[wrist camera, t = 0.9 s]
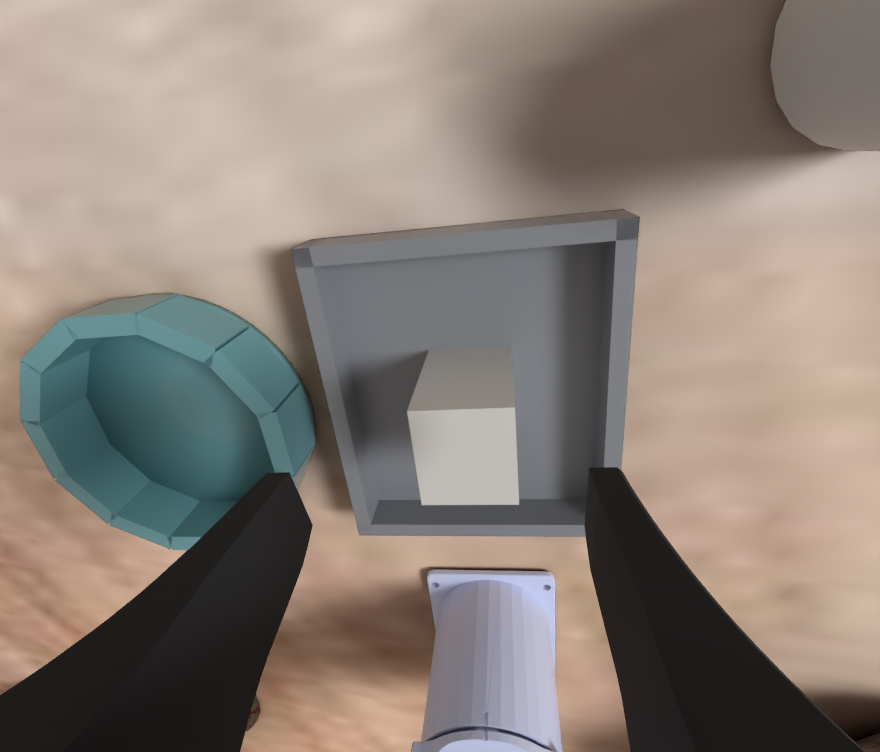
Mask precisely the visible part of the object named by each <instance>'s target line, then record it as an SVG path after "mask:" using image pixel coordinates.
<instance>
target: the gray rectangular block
mask: <svg viewBox="0 0 880 752" xmlns="http://www.w3.org/2000/svg"><path fill="white" fill-rule="evenodd" d="M407 415H408V421H409V428H410V434H411V440H412V446H413V453H414V459H415V465H416V472H417V478H418V484H419V491H420V497H421V503H422V505H519V488H518V465H517V442H516V419H515V399H514V382H513V365H512V348H511V345H508V346H490V347H472V348H454V349H436V350H429V351H428V354H427V357H426V360H425V362H424V365H423V368H422V371H421V373H420V376H419V379H418V382H417V385H416V387H415V390H414V393H413V396H412V399H411V401H410V404H409V407H408V410H407Z"/></svg>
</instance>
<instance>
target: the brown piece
mask: <svg viewBox="0 0 880 752" xmlns="http://www.w3.org/2000/svg"><path fill="white" fill-rule="evenodd" d="M856 743H857V744H858V745H859V746H860V747H861V748H862V749H863V750H864V751H866V752H880V733H878V734H876V735H873V736H870V737H867V738H864V739H861V740H859V741H856Z"/></svg>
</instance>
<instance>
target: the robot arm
mask: <svg viewBox="0 0 880 752" xmlns="http://www.w3.org/2000/svg"><path fill="white" fill-rule="evenodd" d="M584 526H585V534H586V541H587V548H588V555H589V562H590V569H591V573H592V577H593V581H594V586H595V590H596V594H597V598H598V602H599V606H600V610H601V614H602V617H603V621H604V625H605V629H606V633H607V637H608V641H609V645H610V649H611V653H612V657H613V661H614V665H615V669H616V673H617V677H618V682H619V687H620V691H621V696H622V701H623V707H624V713H625V719H626V726H627V732H628V738H629V744H630V750H631V752H866V751H864V750H863V749H862V748H861V747H860V746H859V745H858V744H857V743H856V742H854V741H853V740H852V739H851V738H850V737H849V736H848V735H847V734H846V733H845V732H844V731H843V730H842V729H841V728H840V727H839V726H838V725H837V724H835V723H834V722H833V721H832V720H831V719H830V718H829V717H828V716H827V715H826V714H825V713H824V712H823V711H822V710H821V709H820V708H819V707H818V706H817V705H816V704H814V703H813V702H812V701H811V700H810V699H809V698H808V697H807V696H806V695H805V694H804V693H803V692H802V691H801V690H800V689H799V688H798V687H797V686H796V685H794V684H793V683H792V682H791V681H790V680H789V679H788V678H787V677H786V676H785V675H784V674H783V673H782V672H781V670H780V669H779V668H778V667H777V666H776V665H775V664H774V663H773V662H772V661H771V660H770V659H769V658H768V657H767V656H766V655H765V654H764V653H763V652H762V651H761V650H760V649H759V648H758V647H757V646H756V645H755V644H754V642H753V641H752V640H751V639H750V638H749V637H748V636H747V635H746V634H745V633H744V632H743V631H742V630H741V628H740V627H739V626H738V625H737V624H736V623H735V622H734V621H733V620H732V619H731V617H730V616H729V615H728V614H727V613H726V612H725V611H724V609H723V608H722V607H721V606H720V605H719V604H718V603H717V601H716V600H715V599H714V598H713V597H712V595H711V594H710V593H709V592H708V591H707V589H706V588H705V587H704V586H703V585H702V583H701V582H700V581H699V580H698V579H697V577H696V576H695V575H694V574H693V572H692V571H691V570H690V569H689V567H688V566H687V565H686V564H685V562H684V561H683V560H682V558H681V557H680V556H679V554H678V553H677V552H676V550H675V549H674V548H673V546H672V545H671V544H670V542H669V541H668V540H667V538H666V537H665V536H664V534H663V533H662V532H661V530H660V529H659V528H658V526H657V525H656V523H655V522H654V520H653V519H652V518H651V516H650V515H649V513H648V512H647V510H646V509H645V507H644V506H643V504H642V503H641V501H640V500H639V498H638V497H637V495H636V494H635V492H634V490H633V489H632V487H631V485H630V484H629V482H628V481H627V479H626V477H625V475H624V474H623V472H622V471H621V470H620V469H619V468H618V467H600V468H589V475H588V488H587V500H586V513H585V525H584ZM311 530H312V523H311V521H310V518H309V516H308V514H307V511H306V509H305V507H304V505H303V502H302V500H301V498H300V495H299V493H298V491H297V488H296V486H295V484H294V482H293V479H292V477H291V475H290V472H283V473H266V474H265V475H264V476H263V477H262V478H261V479H260V480H259V481H258V482H257V483H256V484H255V485H254V486H253V487H252V488H251V489H250V490H249V491H248V492H247V493H246V494H245V495H244V496H243V497H242V498H241V499H240V500H239V501H238V502H237V503H236V504H235V505H234V506H233V507H232V508H231V509H230V510H229V511H228V512H227V513H226V514H225V515H224V516H223V517H222V518H221V519H220V520H219V521H218V522H217V523H216V524H214V525H213V526H212V527H211V528H210V529H209V530H208V531H207V532H206V533H205V534H204V535H203V536H202V537H201V538H200V539H199V540H198V541H197V542H196V543H195V544H194V545H193V546H192V547H191V548H190V549H189V550H187V551H186V552H185V553H184V554H183V555H182V556H181V557H180V558H179V559H178V560H177V561H175V562H174V563H173V564H172V565H171V566H170V567H169V568H168V569H167V570H166V571H165V572H163V573H162V574H161V575H160V576H159V577H158V578H157V579H156V580H155V581H154V582H152V583H151V584H150V585H149V586H148V587H147V588H145V589H144V590H143V591H142V592H141V593H139V594H138V595H137V596H136V597H135V598H134V599H132V600H131V601H130V602H129V603H127V604H126V605H125V606H124V607H122V608H121V609H120V610H119V611H117V612H116V613H115V614H114V615H112V616H111V617H110V618H109V619H107V620H106V621H105V622H104V623H102V624H101V625H100V626H98V627H97V628H96V629H94V630H93V631H92V632H90V633H89V634H88V635H86V636H85V637H83V638H82V639H81V640H79V641H78V642H77V643H75V644H74V645H72V646H71V647H70V648H68V649H67V650H66V651H64V652H63V653H61V654H60V655H59V656H57V657H56V658H55V659H53V660H52V661H51V662H49V663H48V664H46V665H45V666H43V667H42V668H41V669H39V670H38V671H36V672H35V673H33V674H32V675H30V676H29V677H27V678H26V679H24V680H23V681H21V682H20V683H18V684H17V685H15V686H14V687H12V688H11V689H9V690H8V691H6V692H5V693H3V694H2V695H0V752H240V749H241V746H242V742H243V738H244V734H245V730H246V726H247V723H248V719H249V716H250V712H251V709H252V705H253V702H254V698H255V695H256V691H257V688H258V684H259V681H260V677H261V675H262V672H263V669H264V666H265V663H266V660H267V657H268V655H269V652H270V649H271V647H272V644H273V642H274V639H275V636H276V634H277V631H278V629H279V626H280V624H281V621H282V618H283V616H284V613H285V611H286V608H287V606H288V603H289V600H290V598H291V595H292V592H293V590H294V587H295V585H296V582H297V579H298V577H299V574H300V571H301V568H302V566H303V562H304V558H305V554H306V551H307V547H308V543H309V538H310V534H311ZM434 582H436V583H434ZM427 583H428V589H429V595H430V601H431V607H432V613H433V619H434V625H435V631H436V634H435V641H434V649H433V656H432V664H431V671H430V679H429V686H428V694H427V701H426V709H425V716H424V724H423V731H422V739H421V742H413V743H412V749H411V752H562V743H561V734H560V724H559V714H558V705H557V695H556V686H555V676H554V670H555V579H554V575H553V574H552V573H550V572H546V571H491V570H430V571H429V572H428V574H427Z"/></svg>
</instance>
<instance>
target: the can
mask: <svg viewBox="0 0 880 752" xmlns="http://www.w3.org/2000/svg"><path fill="white" fill-rule="evenodd" d="M770 68H771V73H772V79H773V85H774V91H775V97H776V101H777V103H778V105H779V106H780V108H781V109H782V111H783V113H784V114H785V116H786V118H787V119H788V121H789V123H790V124H791V126H792V127H793V128H794V129H795V130H797V131H798V132H800V133H801V134H803V135H804V136H806V137H807V138H809V139H810V140H812V141H813V142H815V143H816V144H818V145H822V146H827V147H832V148H837V149H842V150H847V151H880V0H786V2H785V4H784V7H783V9H782V11H781V14H780V16H779V19H778V21H777V24H776V28H775V35H774V42H773V50H772V57H771V64H770Z"/></svg>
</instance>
